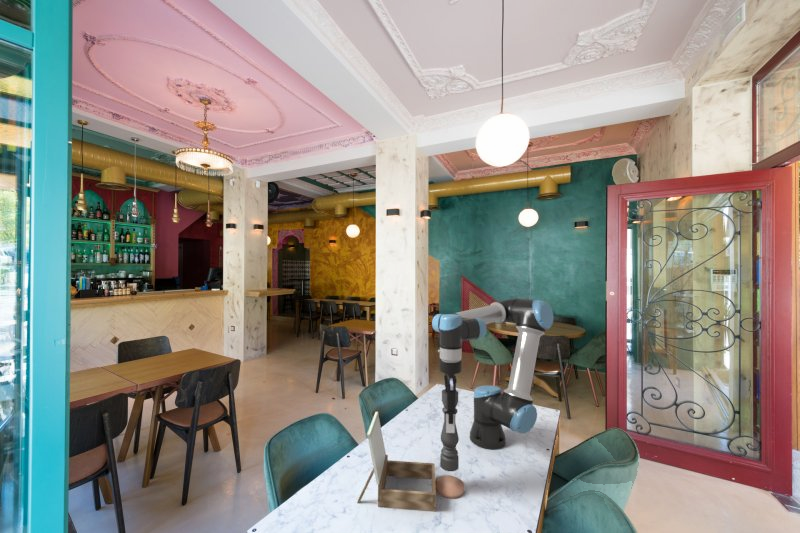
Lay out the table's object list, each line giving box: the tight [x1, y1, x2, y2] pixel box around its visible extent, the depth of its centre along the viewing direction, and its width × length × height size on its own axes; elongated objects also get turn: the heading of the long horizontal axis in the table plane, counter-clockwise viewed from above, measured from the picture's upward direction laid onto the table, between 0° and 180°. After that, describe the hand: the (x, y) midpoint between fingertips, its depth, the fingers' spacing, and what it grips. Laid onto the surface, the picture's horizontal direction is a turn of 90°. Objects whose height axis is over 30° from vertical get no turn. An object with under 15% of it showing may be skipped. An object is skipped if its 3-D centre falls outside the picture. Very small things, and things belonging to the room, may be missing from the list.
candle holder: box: [439, 388, 460, 472], centre depth 106 cm, size 6×6×25 cm
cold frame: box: [356, 454, 437, 512], centre depth 104 cm, size 25×16×12 cm, turn 85°
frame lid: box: [366, 411, 387, 485], centre depth 105 cm, size 4×16×15 cm, turn 175°
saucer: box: [435, 474, 465, 500], centre depth 105 cm, size 10×10×1 cm
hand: (449, 427), depth 106 cm, fingers closed on candle holder, 5 cm apart
